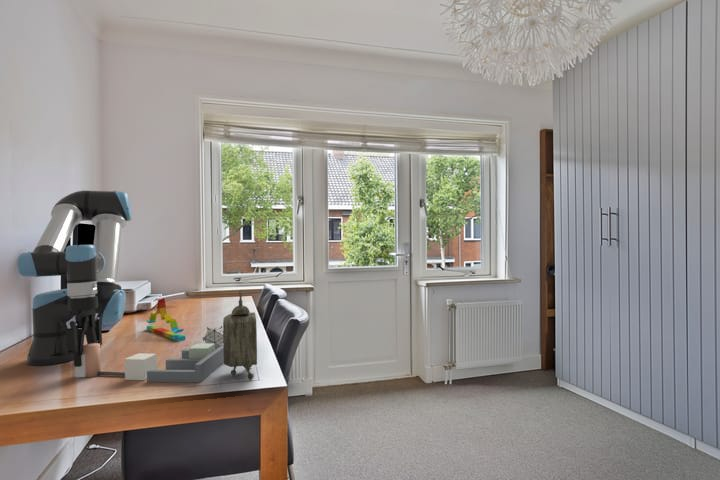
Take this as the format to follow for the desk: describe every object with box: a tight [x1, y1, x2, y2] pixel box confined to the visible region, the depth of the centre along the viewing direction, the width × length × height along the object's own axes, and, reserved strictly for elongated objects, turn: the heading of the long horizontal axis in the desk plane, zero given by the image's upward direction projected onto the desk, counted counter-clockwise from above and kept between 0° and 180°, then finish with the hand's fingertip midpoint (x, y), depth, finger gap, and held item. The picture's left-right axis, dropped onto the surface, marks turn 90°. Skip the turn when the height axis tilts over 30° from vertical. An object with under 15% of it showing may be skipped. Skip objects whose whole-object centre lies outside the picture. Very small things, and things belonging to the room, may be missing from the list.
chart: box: [146, 298, 186, 342], centre depth 177 cm, size 30×3×15 cm, turn 48°
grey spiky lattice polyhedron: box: [202, 325, 223, 349], centre depth 155 cm, size 9×8×10 cm
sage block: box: [188, 342, 216, 359], centre depth 137 cm, size 6×6×6 cm
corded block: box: [83, 343, 158, 381], centre depth 126 cm, size 21×6×9 cm, turn 83°
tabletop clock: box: [222, 290, 258, 380], centre depth 126 cm, size 14×9×25 cm, turn 17°
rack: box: [146, 345, 224, 383], centre depth 132 cm, size 16×22×5 cm
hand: (86, 373), depth 127 cm, fingers closed on corded block, 4 cm apart
